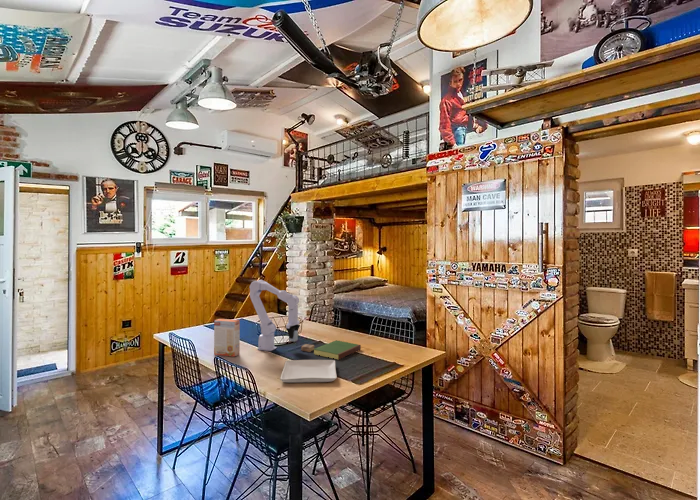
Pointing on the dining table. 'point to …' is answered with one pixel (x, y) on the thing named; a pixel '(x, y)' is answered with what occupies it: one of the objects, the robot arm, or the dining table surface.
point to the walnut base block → (307, 347)
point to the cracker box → (227, 337)
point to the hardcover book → (337, 349)
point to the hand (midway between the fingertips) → (292, 337)
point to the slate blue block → (294, 336)
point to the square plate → (309, 371)
